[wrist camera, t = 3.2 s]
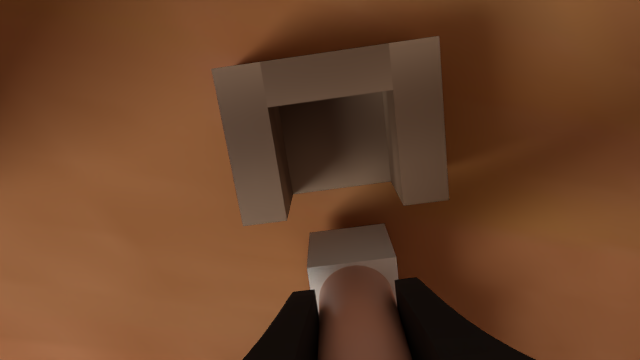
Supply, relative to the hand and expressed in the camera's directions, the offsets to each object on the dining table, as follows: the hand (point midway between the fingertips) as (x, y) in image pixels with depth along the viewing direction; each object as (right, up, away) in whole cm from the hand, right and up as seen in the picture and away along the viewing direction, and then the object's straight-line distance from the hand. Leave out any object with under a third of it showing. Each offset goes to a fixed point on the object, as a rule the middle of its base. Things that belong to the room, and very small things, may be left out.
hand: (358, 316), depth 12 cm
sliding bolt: (+1, -3, +4) cm, 5 cm away
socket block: (-1, +6, +3) cm, 6 cm away
